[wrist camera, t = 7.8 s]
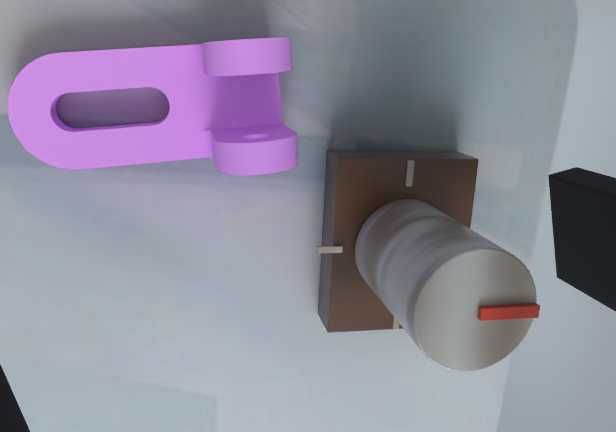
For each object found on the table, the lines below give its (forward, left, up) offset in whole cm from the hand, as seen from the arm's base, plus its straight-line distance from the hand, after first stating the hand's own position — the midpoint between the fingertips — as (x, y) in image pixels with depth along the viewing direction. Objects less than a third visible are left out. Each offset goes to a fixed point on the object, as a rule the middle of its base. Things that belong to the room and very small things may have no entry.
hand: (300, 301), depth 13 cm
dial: (-6, +9, -17) cm, 20 cm away
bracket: (+2, -4, -19) cm, 20 cm away
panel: (-6, +9, -19) cm, 22 cm away
